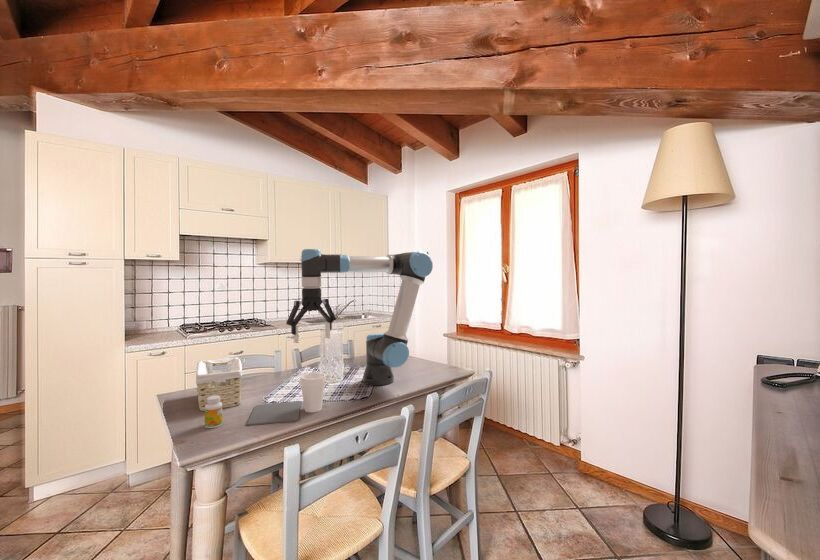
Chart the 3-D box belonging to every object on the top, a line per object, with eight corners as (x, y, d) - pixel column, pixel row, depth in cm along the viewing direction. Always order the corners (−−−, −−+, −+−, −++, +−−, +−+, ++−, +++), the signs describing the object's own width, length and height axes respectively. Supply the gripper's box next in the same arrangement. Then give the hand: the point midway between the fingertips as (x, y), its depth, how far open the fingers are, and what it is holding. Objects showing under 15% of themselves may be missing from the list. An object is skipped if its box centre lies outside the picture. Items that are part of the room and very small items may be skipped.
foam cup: (295, 411, 136) (295, 377, 135) (312, 403, 144) (312, 371, 144) (314, 415, 131) (314, 380, 131) (330, 407, 139) (330, 374, 139)
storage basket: (242, 406, 140) (242, 369, 140) (194, 414, 133) (194, 374, 132) (240, 388, 161) (240, 356, 161) (198, 394, 154) (198, 360, 153)
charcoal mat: (300, 402, 144) (300, 401, 144) (298, 420, 127) (298, 419, 127) (255, 406, 140) (255, 404, 140) (246, 425, 123) (246, 424, 123)
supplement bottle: (201, 428, 121) (200, 399, 120) (212, 421, 126) (212, 394, 126) (215, 429, 120) (214, 400, 119) (226, 422, 125) (225, 395, 125)
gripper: (334, 286, 154) (335, 335, 155) (277, 288, 138) (278, 343, 138) (343, 286, 148) (344, 337, 149) (284, 289, 132) (285, 346, 133)
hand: (312, 340), depth 144 cm, fingers open, 13 cm apart
